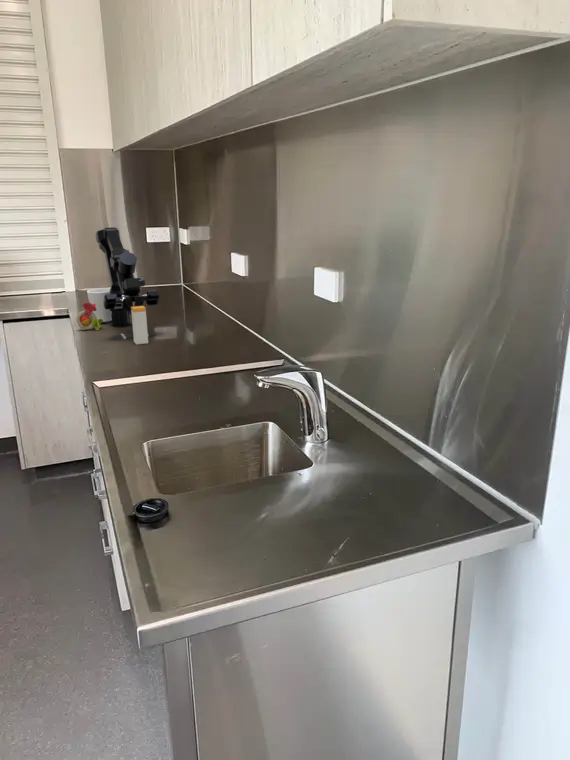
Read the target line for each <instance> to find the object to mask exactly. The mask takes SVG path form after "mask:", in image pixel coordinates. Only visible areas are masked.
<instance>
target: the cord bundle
mask: <svg viewBox="0 0 570 760" xmlns="http://www.w3.org/2000/svg"><path fill="white" fill-rule="evenodd" d="M147 332H148V337H153V336H157V335H158V334H157V333H156V332H155V331H154V330H151V331H147ZM113 339H115V340H116V341H117V340H118V341H119V340H127V339H134V336H133V332H132V333H125V334H124V333H120V334H116V335H115V334H114V335H113Z"/></svg>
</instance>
